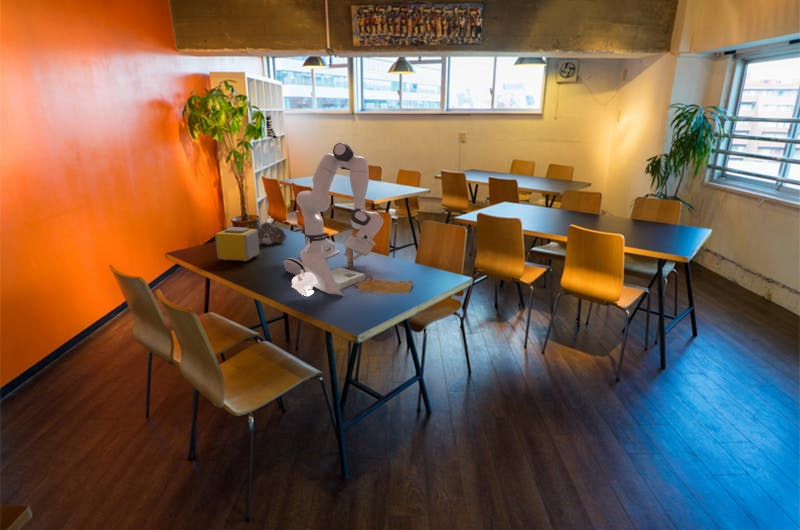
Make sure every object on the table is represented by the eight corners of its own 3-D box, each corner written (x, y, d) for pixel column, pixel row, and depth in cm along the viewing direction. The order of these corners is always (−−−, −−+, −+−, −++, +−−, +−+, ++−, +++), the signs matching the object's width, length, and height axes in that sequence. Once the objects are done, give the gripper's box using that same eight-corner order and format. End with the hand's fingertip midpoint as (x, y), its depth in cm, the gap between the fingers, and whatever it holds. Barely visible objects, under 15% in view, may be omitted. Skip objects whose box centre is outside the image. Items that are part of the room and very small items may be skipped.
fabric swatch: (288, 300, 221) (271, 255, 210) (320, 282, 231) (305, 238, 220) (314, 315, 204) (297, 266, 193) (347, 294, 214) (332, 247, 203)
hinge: (311, 276, 241) (305, 260, 236) (305, 280, 238) (298, 265, 233) (294, 269, 252) (287, 254, 247) (287, 273, 249) (280, 258, 244)
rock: (267, 221, 292) (265, 212, 304) (253, 237, 293) (251, 228, 306) (289, 237, 302) (286, 228, 314) (275, 253, 304) (273, 243, 316)
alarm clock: (261, 256, 276) (258, 226, 270) (248, 264, 261) (245, 232, 255) (231, 254, 279) (228, 225, 273) (217, 262, 264) (213, 231, 259)
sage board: (340, 272, 246) (340, 267, 245) (364, 279, 236) (364, 274, 235) (315, 281, 233) (314, 275, 232) (340, 289, 222) (339, 283, 221)
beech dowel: (350, 266, 257) (349, 248, 254) (354, 267, 255) (354, 249, 252) (346, 267, 255) (345, 249, 251) (350, 269, 253) (350, 250, 249)
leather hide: (346, 292, 223) (346, 283, 221) (381, 274, 242) (382, 266, 239) (391, 313, 207) (391, 303, 205) (425, 292, 226) (426, 283, 223)
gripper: (350, 231, 261) (336, 250, 259) (370, 238, 246) (355, 258, 243) (357, 237, 265) (343, 256, 263) (377, 244, 250) (362, 264, 247)
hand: (349, 257), depth 253 cm, fingers open, 8 cm apart
